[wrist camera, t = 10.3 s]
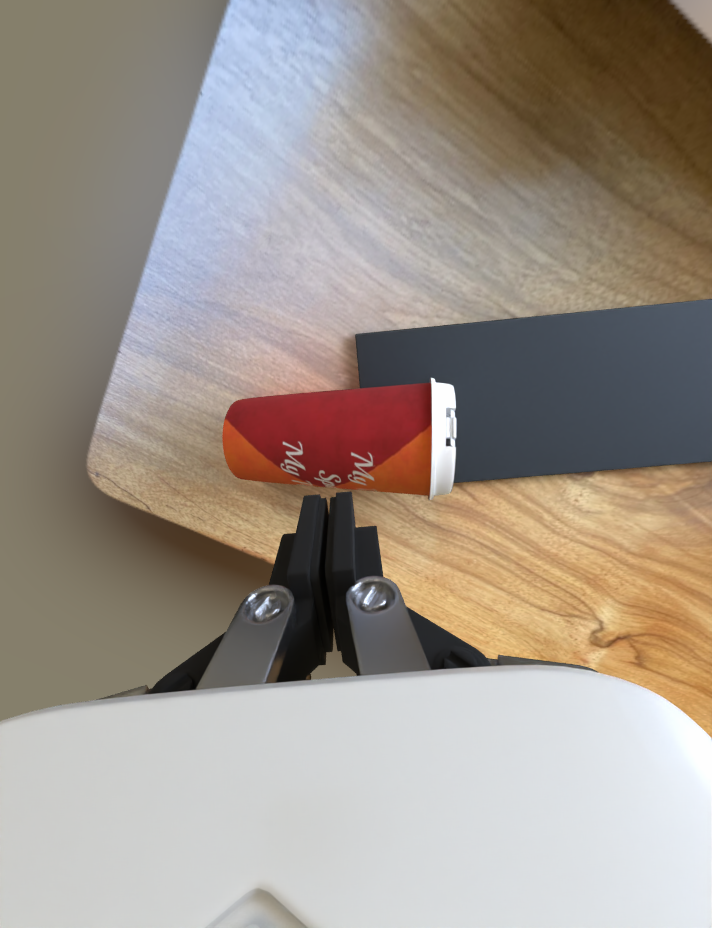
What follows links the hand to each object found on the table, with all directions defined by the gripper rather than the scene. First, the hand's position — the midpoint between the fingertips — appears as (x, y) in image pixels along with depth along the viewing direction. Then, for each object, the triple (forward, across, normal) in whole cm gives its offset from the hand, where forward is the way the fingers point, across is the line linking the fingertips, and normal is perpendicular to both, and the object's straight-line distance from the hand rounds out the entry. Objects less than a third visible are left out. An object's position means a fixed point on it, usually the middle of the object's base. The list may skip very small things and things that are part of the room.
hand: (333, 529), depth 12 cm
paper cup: (+13, +7, +1) cm, 15 cm away
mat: (+15, -17, +1) cm, 23 cm away
